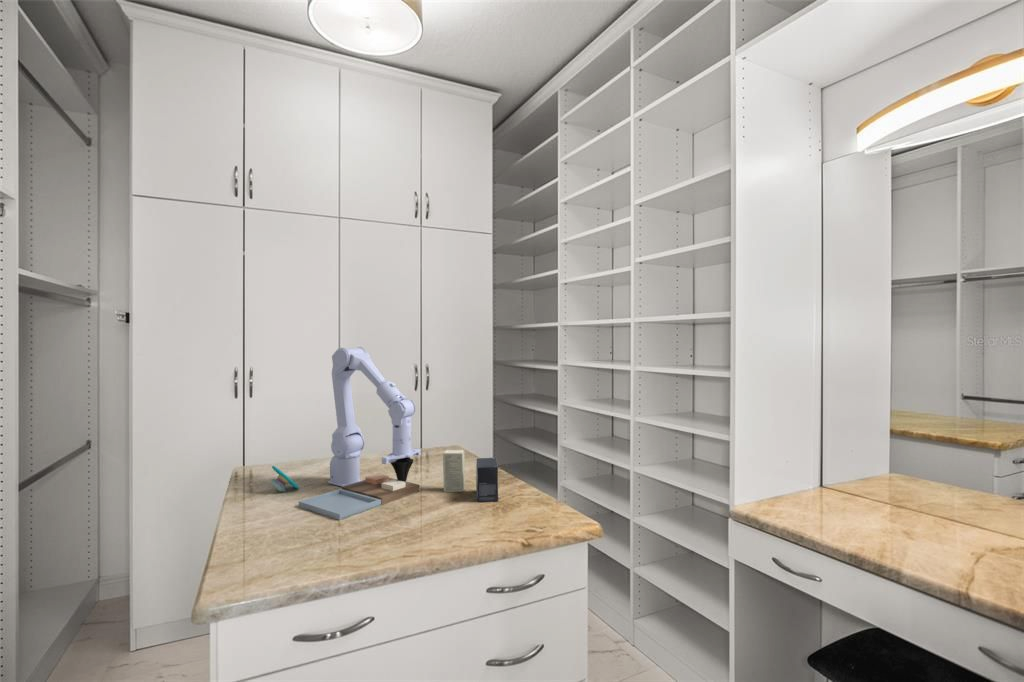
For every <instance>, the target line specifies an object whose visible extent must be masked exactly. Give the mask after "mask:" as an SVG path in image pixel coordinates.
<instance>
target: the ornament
mask: <svg viewBox="0 0 1024 682" xmlns="http://www.w3.org/2000/svg"><path fill="white" fill-rule="evenodd" d="M271 468H272V470H273V471H274V472H275V473H276V474H278V476H277V478H270V480H269V481H270V482H269V483H270V485H272V487H274V488H275V489H276V490H277V491H279V492H280V493H283V492H284V491H286V485H287V484H290V486H292V487H293V488H294V489H297V490H299V489H300V487H299V486H298V485H297V483H296V482H294V481H293V480H292V478H290V477H289V476H287V474H286V473H284V472H283V471H282V470H280V469H279V468H278V467H276V465H275V466H274V465H272V466H271Z"/></svg>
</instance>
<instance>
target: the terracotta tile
mask: <svg viewBox="0 0 1024 682" xmlns="http://www.w3.org/2000/svg"><path fill="white" fill-rule="evenodd" d="M389 478H390V477H389V475H385V474H381V473H375V474H371V475H368V476H365V480H366V482H368V483H372V484H376V485H377V484H380V483H383V482H386V481H389Z"/></svg>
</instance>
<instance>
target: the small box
mask: <svg viewBox="0 0 1024 682" xmlns="http://www.w3.org/2000/svg"><path fill="white" fill-rule="evenodd" d="M475 467H476V468H475V469H476V471H475V474H476V475H475V476H476V477H475V482H476V485H475V487H476V501H477V503H492V502H493V503H495V502H496V503H498V502H499V479H498V478H499V475H498V474H499V465H498V460H497V457H478V458H477V457H476V466H475Z"/></svg>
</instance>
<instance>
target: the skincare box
mask: <svg viewBox="0 0 1024 682" xmlns="http://www.w3.org/2000/svg"><path fill="white" fill-rule="evenodd" d="M465 461H466V460H465V449H446V450H444V451H443V453H442V466H443V467H442V468H443V469H442V470H443V473H442V474H443V475H442V476H443V492H445V493H451V492H452V493H464V491H465V488H466V471H465V470H466V464H465V463H466V462H465Z"/></svg>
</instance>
